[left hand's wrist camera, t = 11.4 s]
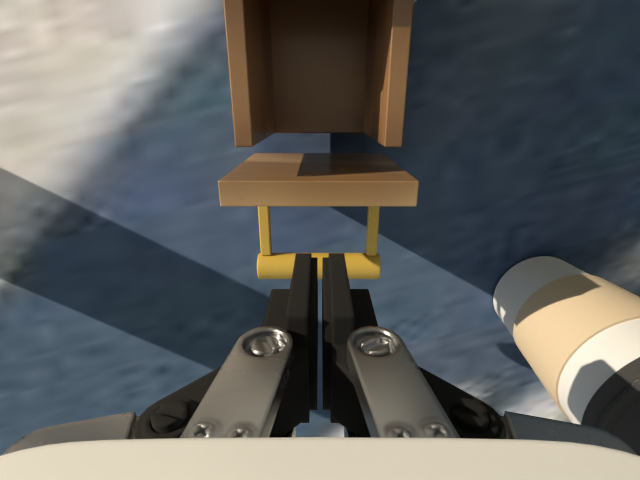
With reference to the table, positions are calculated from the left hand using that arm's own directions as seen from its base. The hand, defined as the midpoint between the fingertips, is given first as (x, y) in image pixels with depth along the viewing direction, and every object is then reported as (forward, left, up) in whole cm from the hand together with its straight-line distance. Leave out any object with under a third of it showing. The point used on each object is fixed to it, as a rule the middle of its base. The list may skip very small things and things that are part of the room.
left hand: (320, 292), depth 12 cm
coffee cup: (+18, +10, -16) cm, 26 cm away
